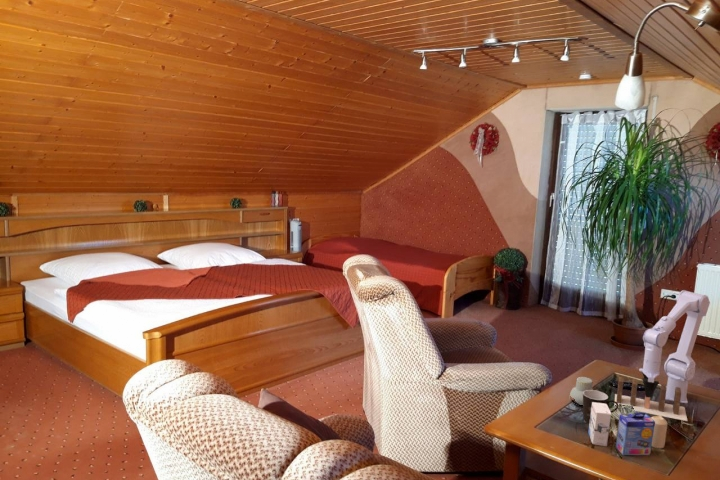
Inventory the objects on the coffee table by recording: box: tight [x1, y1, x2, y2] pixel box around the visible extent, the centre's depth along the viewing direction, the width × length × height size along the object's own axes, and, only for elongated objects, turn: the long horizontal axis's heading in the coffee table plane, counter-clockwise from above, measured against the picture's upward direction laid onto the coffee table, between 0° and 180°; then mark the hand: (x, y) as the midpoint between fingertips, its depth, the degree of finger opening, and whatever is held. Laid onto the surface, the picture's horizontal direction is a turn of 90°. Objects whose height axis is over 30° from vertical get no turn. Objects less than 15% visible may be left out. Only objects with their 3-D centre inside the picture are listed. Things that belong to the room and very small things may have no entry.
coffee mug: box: [582, 389, 619, 423], centre depth 211 cm, size 12×9×10 cm
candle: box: [650, 415, 668, 449], centre depth 196 cm, size 6×6×10 cm
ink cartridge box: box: [615, 412, 655, 456], centre depth 190 cm, size 10×6×14 cm, turn 95°
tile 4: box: [630, 379, 638, 406], centre depth 226 cm, size 2×5×9 cm, turn 155°
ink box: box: [587, 402, 612, 447], centre depth 198 cm, size 9×5×12 cm, turn 168°
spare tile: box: [644, 395, 651, 409], centre depth 224 cm, size 2×5×9 cm, turn 155°
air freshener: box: [569, 376, 594, 405], centre depth 226 cm, size 11×8×10 cm
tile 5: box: [616, 376, 624, 404], centre depth 228 cm, size 2×5×9 cm, turn 155°
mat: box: [613, 393, 688, 422], centre depth 225 cm, size 13×25×1 cm, turn 65°
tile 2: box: [658, 384, 667, 412], centre depth 222 cm, size 2×5×9 cm, turn 155°
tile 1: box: [672, 387, 681, 415], centre depth 220 cm, size 2×5×9 cm, turn 155°
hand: (648, 393), depth 224 cm, fingers open, 7 cm apart
